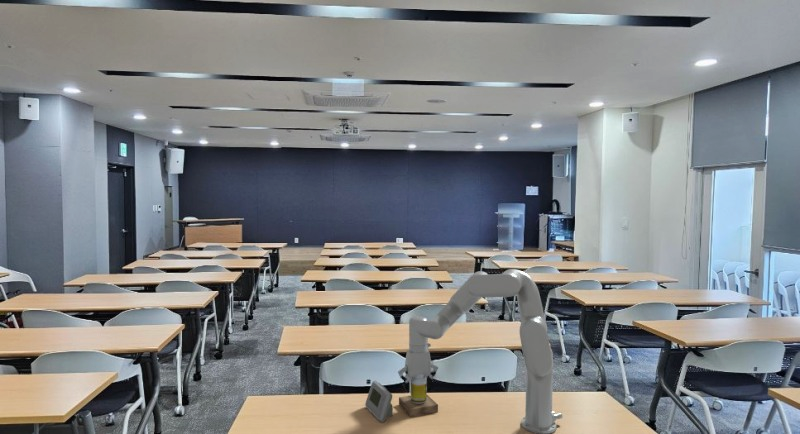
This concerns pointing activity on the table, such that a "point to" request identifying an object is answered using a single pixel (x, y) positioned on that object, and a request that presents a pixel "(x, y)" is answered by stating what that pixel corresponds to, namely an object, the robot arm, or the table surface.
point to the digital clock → (379, 401)
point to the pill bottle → (419, 389)
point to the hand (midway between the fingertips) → (418, 389)
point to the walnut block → (418, 406)
